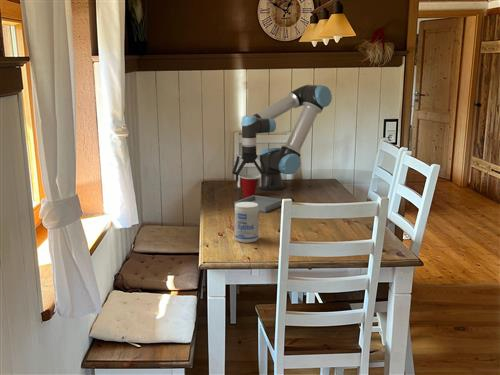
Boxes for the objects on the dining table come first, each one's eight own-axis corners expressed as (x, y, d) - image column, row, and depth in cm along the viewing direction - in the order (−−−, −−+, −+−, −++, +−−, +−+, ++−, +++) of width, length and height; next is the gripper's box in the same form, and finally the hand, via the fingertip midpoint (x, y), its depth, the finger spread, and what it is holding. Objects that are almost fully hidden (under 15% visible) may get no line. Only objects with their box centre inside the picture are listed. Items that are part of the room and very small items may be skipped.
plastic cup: (257, 200, 282) (257, 177, 280) (237, 199, 284) (237, 177, 282) (261, 195, 293) (261, 173, 290) (241, 194, 295) (241, 173, 292)
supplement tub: (236, 244, 212) (236, 207, 208) (232, 236, 221) (232, 202, 218) (260, 242, 213) (260, 206, 210) (256, 235, 223) (255, 200, 219)
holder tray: (253, 200, 281) (253, 195, 281) (283, 205, 272) (283, 199, 271) (234, 208, 267) (234, 202, 266) (265, 213, 257) (265, 206, 256)
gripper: (269, 143, 289) (268, 184, 293) (226, 145, 284) (226, 186, 288) (272, 145, 281) (272, 186, 286) (228, 147, 277) (229, 189, 281)
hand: (249, 186), depth 287 cm, fingers closed on plastic cup, 11 cm apart
